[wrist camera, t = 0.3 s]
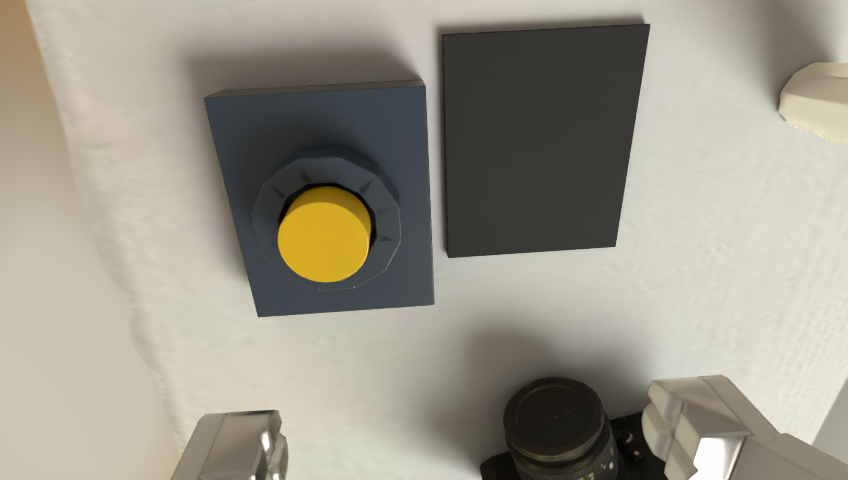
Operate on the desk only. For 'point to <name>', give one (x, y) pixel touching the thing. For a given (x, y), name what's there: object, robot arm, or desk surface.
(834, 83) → the milkshake
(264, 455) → the robot arm
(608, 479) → the film camera
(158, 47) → the desk surface
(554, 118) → the mat
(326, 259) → the cylinder
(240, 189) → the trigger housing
